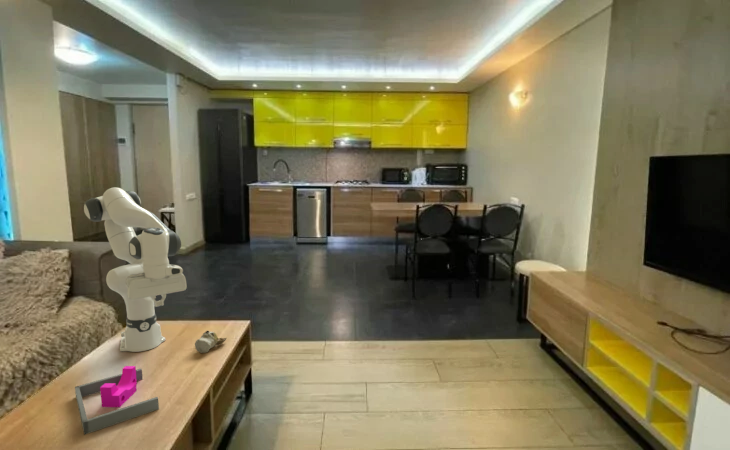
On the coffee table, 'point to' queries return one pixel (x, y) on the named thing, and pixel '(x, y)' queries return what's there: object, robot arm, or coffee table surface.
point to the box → (113, 416)
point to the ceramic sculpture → (208, 341)
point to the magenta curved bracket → (119, 389)
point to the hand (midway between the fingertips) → (159, 305)
